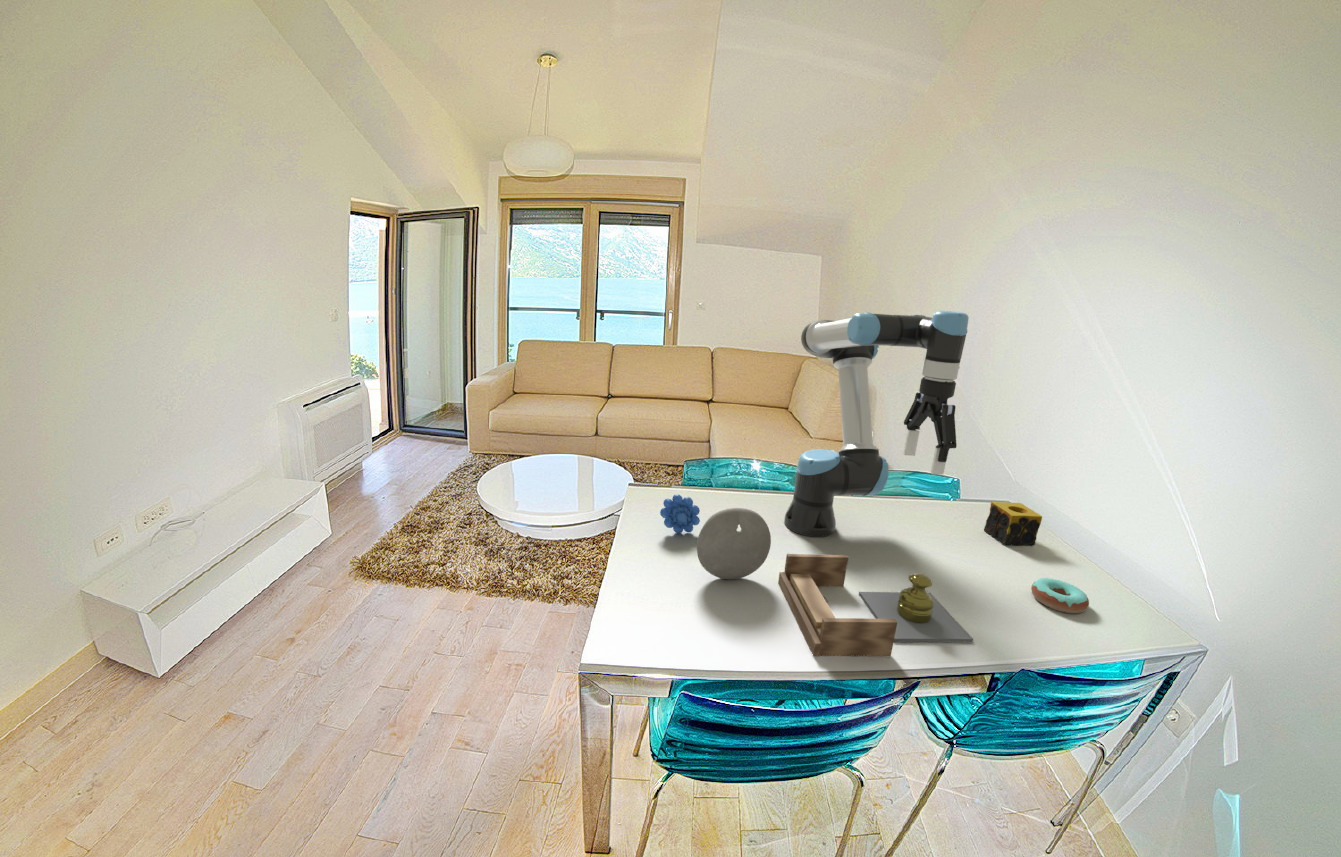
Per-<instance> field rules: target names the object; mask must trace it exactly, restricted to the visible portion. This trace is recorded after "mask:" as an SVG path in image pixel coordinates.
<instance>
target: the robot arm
mask: <svg viewBox="0 0 1341 857" xmlns="http://www.w3.org/2000/svg"><path fill="white" fill-rule="evenodd" d="M969 317H970V316H969V315H968V314H967V313H965V312H959V311H948V310H946V311H945V310H937V311H935V312H933V315H932V317H930V316H926V315H922V314H912V315H911V314H910V315H908V314H907V315H906V314H904V315H903V314H884V313H872V312H857V313H855V314H852V316H851V317H850V318H845V319H840V320H839V319H838V320H830V319H820V320H815V321H812V322H810V323H808V324H807V325H805V327H804V328H803V330H802V332H801V335H800V337H801V338H800V342H801V345H802V347H803V349H804V350H805V351H806V352H807V353H809V354H810V355H812V356H814V357H818V358H823V359H832V367H834V368H835V369H836V370H838V371H837V372H838V383H839V384H838V385H839V399H840V400H839V401H840V415H841V429H842V431H841V432H842V447H841V448H840V449H839V450H838V452H837V451H835V450H832V449H825V448H824V449H823V448H815V449H814V448H813V449H808V450H806V451H804V452H802V453H801V455H800V456H799V457H798V461H797V462H798V463H797V464H796V473H795V481H794V482H795V483H794V491H793V498H792V500H791V502H790V505H789V507H788V509H787V510H786V513H785V515H784V521H783V523H784V525H785V527H787V528H788V529H789V530H790V531H792V532H794V533H796V534H799V535H802V536H807V537H814V538H815V537H816V538H818V537H819V538H822V537H823V538H824V537H828V536H831V535H833V534H834V533H835V531H836V526H837V524H836V516H835V511H834V506H833V505H834V498H835V496H863V497H865V496H874V495H878V494H880V493H881V492H882V491H883V490H885V487H886V486H887V483H888V479H889V475H890V474H889V473H890V472H889V470H890V469H889V463H888V462H887V459H886V458H885V457H883V456H881V455H880V453H879V452H880V451H879V448H877V446H875V445H874V442H873V441H874V439H873V427H872V426H873V424H872V415H871V400H870V386H869V372H868V367H870V366H871V364H872V363H873V359H874V358H876V356H877V355H878V351H879V350H878V348H880V346H890V347H905V348H907V347H908V348H921V349H925V350H926V353H925V357H924V364H923V368H922V373H921V374H922V376H924V377H922V378H920V384H919V388H918V391H919V392H916V393H915V395H914V400H913V403H912V404H911V406H910V408H909V410H908V413H907V414H906V416H905V419H904V421H903V425H904V426H906V430H907V431H906V432H907V433H906V438H905V443H904V444H905V445H904V449H903V456H914V457H915V456H916V452H917V446H918V441H919V435H920V432H921V431H920V430H921V426H922V425H923V423H924V422H925V421H926V420H927V418H929V419H930V421H931V422H933V426H934V430H935V431H934V432H935V435H936V440H937V445H935V448H934V454H933V459H932V465H931V469H930V474H931V475H944V473H945V468H946V463H947V459H948V456H949V451H950V449H956V448H957V431H956V421H955V420H956V419H955V416H956V415H955V414H956V405H955V404H948V399H951V398H953V397H954V395H955V390H956V385H957V383H956V380H957V379H958V375H959V370H960V368H961V367H960V364H961V359H962V356H963V351H964V348H965V347H964V346H965V342H966V338H967V334H968V324H969Z"/></svg>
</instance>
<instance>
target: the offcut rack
mask: <svg viewBox="0 0 1341 857" xmlns="http://www.w3.org/2000/svg"><path fill="white" fill-rule="evenodd" d="M848 562H849V556H848V555H847V554H814V553H813V554H812V553H811V554H810V553H809V554H806V553H805V554H803V553H799V554H798V553H786V558H785V566H784V572H783V571H779V574H778V581H777V583H778V586H779V588H780V591H781V592H782V594H783V596H784V598H785V601H786V603H787V605H788V606H789V609H790V611H791V613H792V615H793V617H794V619H795V621H796V623H797V624H798V628H799V630H800V632H801V634H802V635H803V637H804V640H805V642H806V644H807V646H808V648H809V650H810V652H812V653H811V655H812V654H813V655H812V657H891V655H892V652H893V648H894V647H893V646H894V643H895V642H894V637H895V632H896V627H897V621H896V620H895V619H876V618H862V617H861V618H856V617H855V618H843V617H839V618H838V617H836V616H835V614H834V613H833V611H832V609H831V608H830V606H829V604H828V603H827V601H826V600H825V598H824V596H823V594H822V593H821V591H820V589H819V588H818V587H836V588H837V587H840V588H841V587H845V586H844V585H845V581H846V580H845V579H846V573H847V568H848V567H847V566H848Z"/></svg>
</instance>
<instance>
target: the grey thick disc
mask: <svg viewBox="0 0 1341 857" xmlns="http://www.w3.org/2000/svg"><path fill="white" fill-rule="evenodd" d="M739 527H740V530H738V528H739ZM771 539H772V537H771V532H770V528H769V526H768V524H767V522H766V520H765V519H764V518H763V517H762V515H760V514H759V513H758V512H756V511H754V510H752V509H747V508H743V507H731V508H726V509H722V510H720V511H717V512H716V513H714V514H712V515H711V516H710V517H709V518H708V519H707V520H706V521H705V523H704V524H703V526H702V528H701V529H700V531H699V534H698V537H697V541H696V555H697V558H698V561H699V563H700V565H701V567H702V568H703V569H704V570H705V571H706V572H707V573H709V575H712V576H714V577H716V578H720V579H723V580H738V579H742V578H745V577H748V576H749V575H751V574H753V573H755V572H756V571H757V570H759V569H760V568H761V566H763V564H764V563H765V562H766V560H767V558H768V556H769V553H770V550H771V544H772V540H771Z"/></svg>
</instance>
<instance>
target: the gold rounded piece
mask: <svg viewBox="0 0 1341 857" xmlns="http://www.w3.org/2000/svg"><path fill="white" fill-rule="evenodd" d="M908 581H909V582H910V583H911V584H912V586H909V587H907V588H903V589H901V590H900V593H899V600H898V605H897V611H898V613H899V614H900V615H901V616H902V617H904V618H905V619H907V620H909V621H912V622H917V623H925V622H928V621H930V619H931V615H932V612H933V609H932V608H933V607H934V599H933V598H932V597H931V596H930V595H929V594H928V593H929V592H928V591H927V590H926V589H927V588H929V587H932V586H933V580H932V578H930V577H929V576H928V575H926V574H924V573H920V572H919V573H918V572H917V573H910V574H909V575H908Z"/></svg>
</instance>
